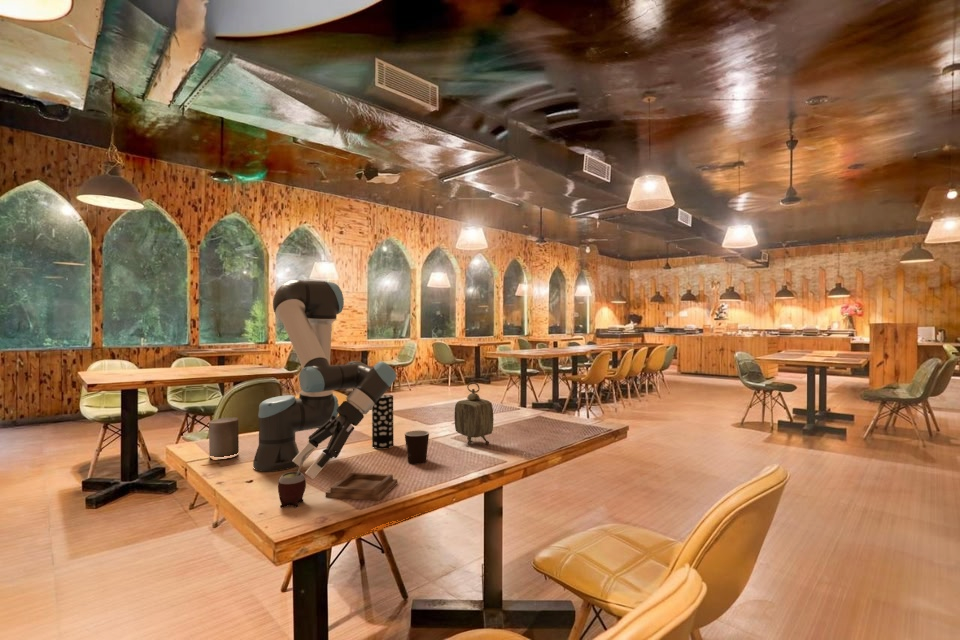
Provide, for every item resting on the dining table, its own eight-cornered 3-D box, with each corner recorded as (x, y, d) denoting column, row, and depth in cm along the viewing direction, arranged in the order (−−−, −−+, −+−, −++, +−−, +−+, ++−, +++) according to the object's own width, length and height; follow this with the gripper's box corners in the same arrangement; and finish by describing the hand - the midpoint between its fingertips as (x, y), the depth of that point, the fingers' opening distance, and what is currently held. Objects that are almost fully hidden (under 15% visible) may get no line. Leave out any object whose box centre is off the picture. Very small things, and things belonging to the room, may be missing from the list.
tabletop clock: (493, 445, 184) (493, 382, 185) (477, 449, 178) (477, 384, 178) (469, 438, 195) (468, 379, 195) (452, 442, 188) (452, 381, 189)
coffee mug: (424, 465, 158) (424, 436, 158) (401, 464, 159) (400, 435, 160) (434, 456, 169) (434, 429, 169) (412, 455, 171) (412, 428, 171)
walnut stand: (325, 496, 130) (325, 487, 130) (348, 480, 143) (348, 472, 143) (379, 500, 127) (379, 490, 127) (397, 483, 141) (397, 474, 141)
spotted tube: (397, 445, 185) (397, 395, 185) (383, 450, 178) (382, 398, 178) (382, 442, 189) (382, 394, 190) (367, 447, 182) (367, 396, 183)
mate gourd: (273, 504, 124) (273, 449, 125) (301, 496, 130) (301, 443, 130) (285, 512, 119) (285, 454, 120) (314, 503, 125) (314, 448, 125)
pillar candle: (244, 453, 175) (244, 414, 175) (227, 461, 165) (227, 419, 165) (220, 453, 176) (220, 414, 176) (202, 460, 166) (202, 419, 166)
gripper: (380, 422, 125) (326, 490, 116) (349, 409, 145) (300, 466, 137) (361, 405, 122) (304, 473, 113) (332, 394, 142) (281, 451, 134)
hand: (302, 469), depth 125 cm, fingers open, 13 cm apart
